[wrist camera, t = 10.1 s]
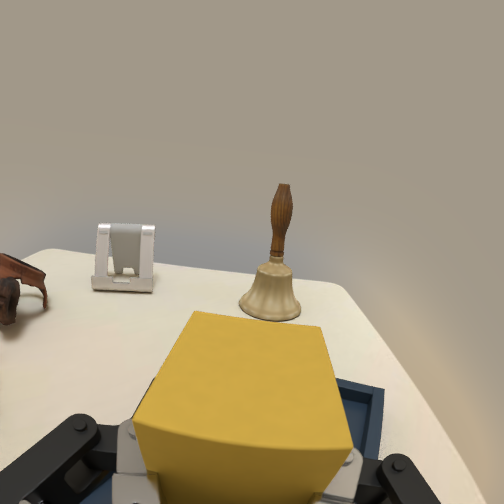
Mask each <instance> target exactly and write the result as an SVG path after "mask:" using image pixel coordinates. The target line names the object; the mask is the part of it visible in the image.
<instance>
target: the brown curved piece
mask: <svg viewBox="0 0 504 504" xmlns="http://www.w3.org/2000/svg"><path fill="white" fill-rule="evenodd" d="M45 276H46V274H45V273H44V272H43V271H41V270H39V269H38V268H36V267H33V266H31V265H29V264H27V263H25V262H23V261H21V260H18V259H16V258H14V257H11V256H9V255H6V254H3V253H0V322H1V323H2V324H3V325H10V324H13V323H15V318H16V307H17V305H18V301H19V297H20V285H19V282H18V281H17V280H15V279H21V283H22V284H27V285H30V286H32V287H34V286H35V287H37V288H39V290H40V291H41V292H42V294H43V296H44V300H43V307H44V309H45V308H46V307H47V305H46V304H47V291H46V287H45V285H44V279H45Z"/></svg>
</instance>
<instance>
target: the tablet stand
mask: <svg viewBox="0 0 504 504" xmlns="http://www.w3.org/2000/svg"><path fill="white" fill-rule="evenodd" d="M109 239H111V248H112V256H113V264H114V271H115V273H123V268H133V269H134V273H135V274H139V278H135V277H130V283H127V282H113V277H111V276H107V274H108V252H109ZM154 239H155V225H146V224H115V223H99V225H98V231H97V242H96V257H95V276H91V283H92V289H96V290H116V291H140V292H152V290H153V251H154Z"/></svg>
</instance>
